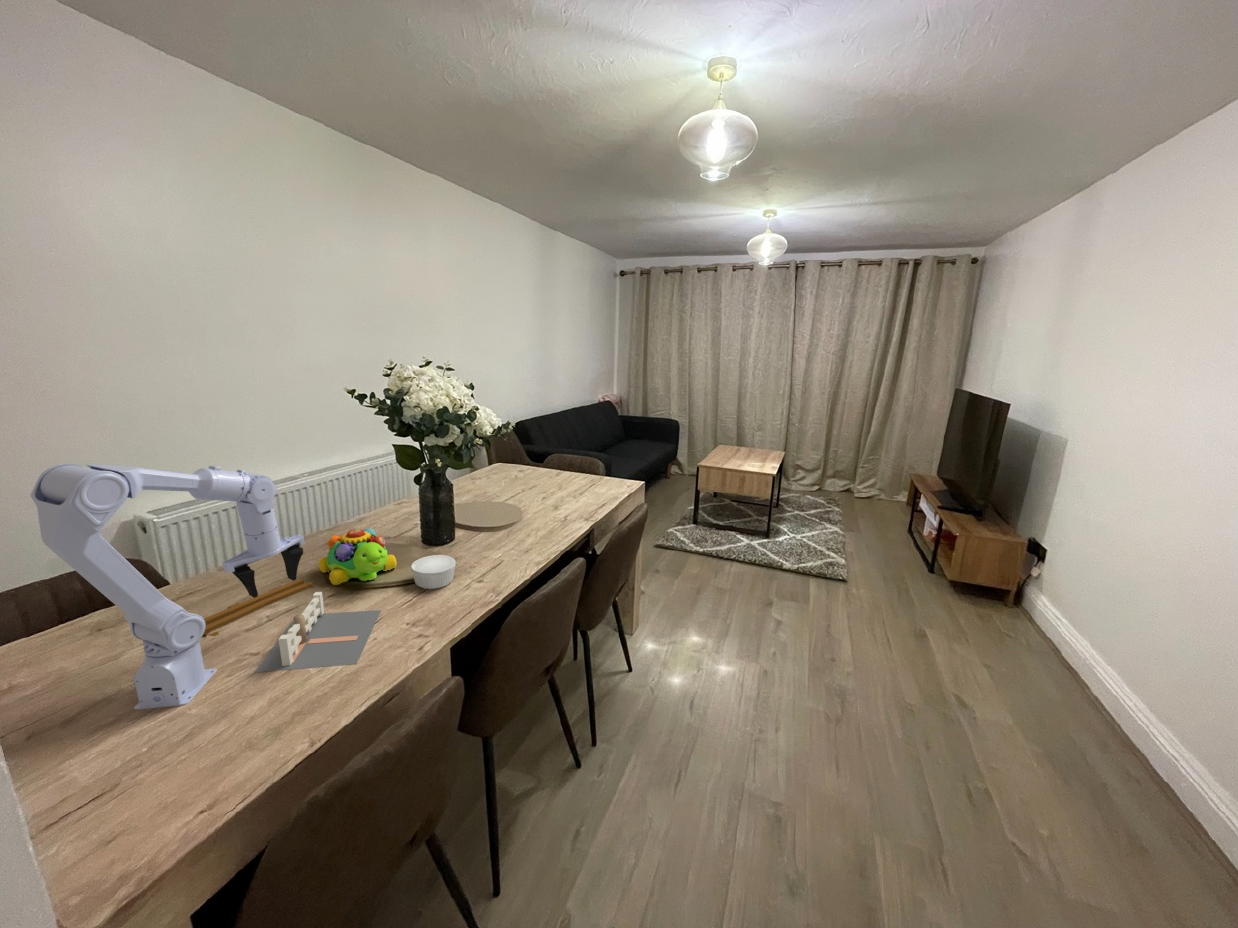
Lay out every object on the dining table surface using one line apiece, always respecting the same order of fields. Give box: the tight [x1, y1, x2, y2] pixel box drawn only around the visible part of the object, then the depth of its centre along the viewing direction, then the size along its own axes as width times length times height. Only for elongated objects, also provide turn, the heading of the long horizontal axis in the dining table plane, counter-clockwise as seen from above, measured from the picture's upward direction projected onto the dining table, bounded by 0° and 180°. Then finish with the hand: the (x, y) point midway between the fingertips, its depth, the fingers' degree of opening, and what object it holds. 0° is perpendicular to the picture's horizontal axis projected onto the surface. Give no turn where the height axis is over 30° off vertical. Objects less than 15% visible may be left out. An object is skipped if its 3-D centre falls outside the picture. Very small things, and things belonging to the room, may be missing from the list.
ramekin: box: [410, 554, 457, 590], centre depth 132 cm, size 11×11×5 cm
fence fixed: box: [278, 614, 307, 666], centre depth 100 cm, size 9×2×6 cm, turn 12°
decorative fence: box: [202, 578, 314, 637], centre depth 115 cm, size 25×2×10 cm
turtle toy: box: [318, 527, 398, 586], centre depth 133 cm, size 17×23×12 cm
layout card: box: [253, 609, 382, 674], centre depth 106 cm, size 20×18×1 cm
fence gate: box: [300, 591, 325, 633], centre depth 109 cm, size 10×1×5 cm, turn 12°
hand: (273, 586), depth 105 cm, fingers open, 7 cm apart
